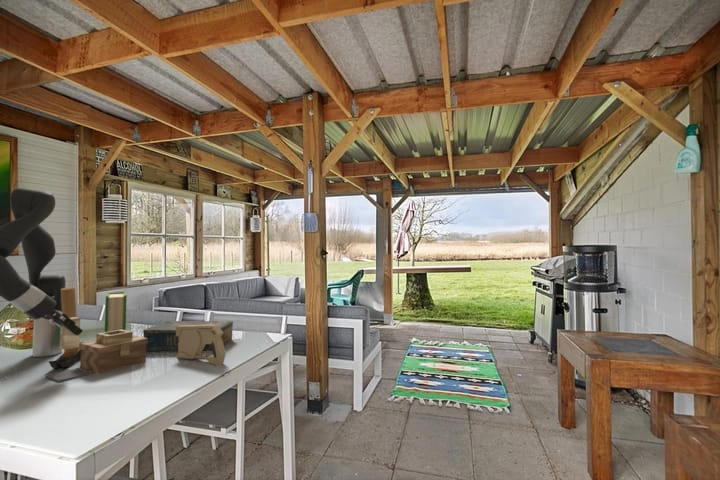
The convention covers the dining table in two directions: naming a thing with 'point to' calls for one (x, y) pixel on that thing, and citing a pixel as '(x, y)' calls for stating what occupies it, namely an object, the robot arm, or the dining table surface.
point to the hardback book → (115, 311)
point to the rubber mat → (68, 374)
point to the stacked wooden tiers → (113, 351)
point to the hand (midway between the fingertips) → (76, 332)
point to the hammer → (69, 309)
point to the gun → (200, 342)
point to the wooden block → (69, 336)
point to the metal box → (166, 339)
